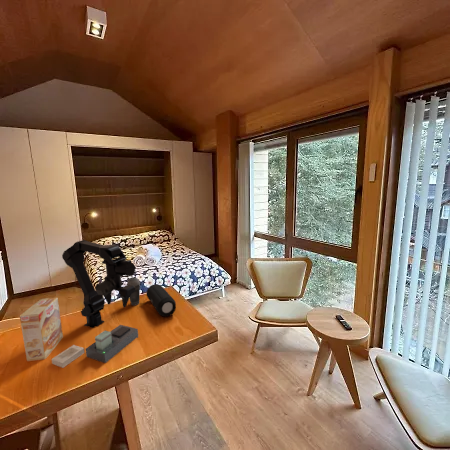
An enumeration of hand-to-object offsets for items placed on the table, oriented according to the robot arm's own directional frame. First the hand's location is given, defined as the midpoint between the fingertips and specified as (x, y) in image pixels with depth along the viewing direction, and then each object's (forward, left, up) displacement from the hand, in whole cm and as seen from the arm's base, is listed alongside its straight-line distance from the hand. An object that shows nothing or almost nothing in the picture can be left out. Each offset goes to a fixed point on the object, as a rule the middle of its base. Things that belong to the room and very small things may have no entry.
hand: (116, 305), depth 115 cm
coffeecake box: (-19, -21, -13) cm, 31 cm away
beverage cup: (-12, +24, -13) cm, 30 cm away
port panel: (+7, -10, -12) cm, 17 cm away
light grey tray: (-4, -22, -12) cm, 26 cm away
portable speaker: (+5, +25, -13) cm, 29 cm away
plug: (+7, -15, -12) cm, 20 cm away
